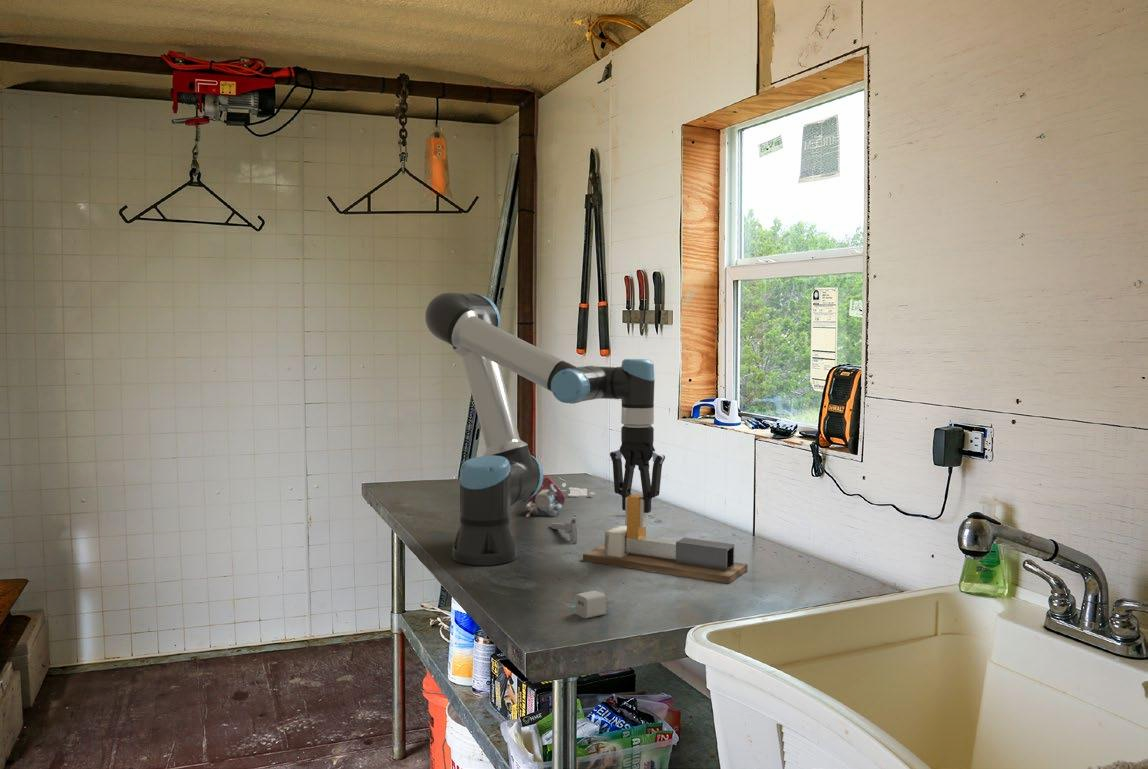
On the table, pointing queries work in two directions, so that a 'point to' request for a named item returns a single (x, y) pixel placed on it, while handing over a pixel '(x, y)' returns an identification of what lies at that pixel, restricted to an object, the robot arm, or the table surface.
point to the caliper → (567, 529)
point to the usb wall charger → (591, 604)
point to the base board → (664, 565)
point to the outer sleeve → (705, 554)
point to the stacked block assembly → (644, 534)
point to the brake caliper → (546, 500)
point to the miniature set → (577, 491)
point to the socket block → (616, 541)
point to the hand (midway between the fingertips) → (636, 525)
